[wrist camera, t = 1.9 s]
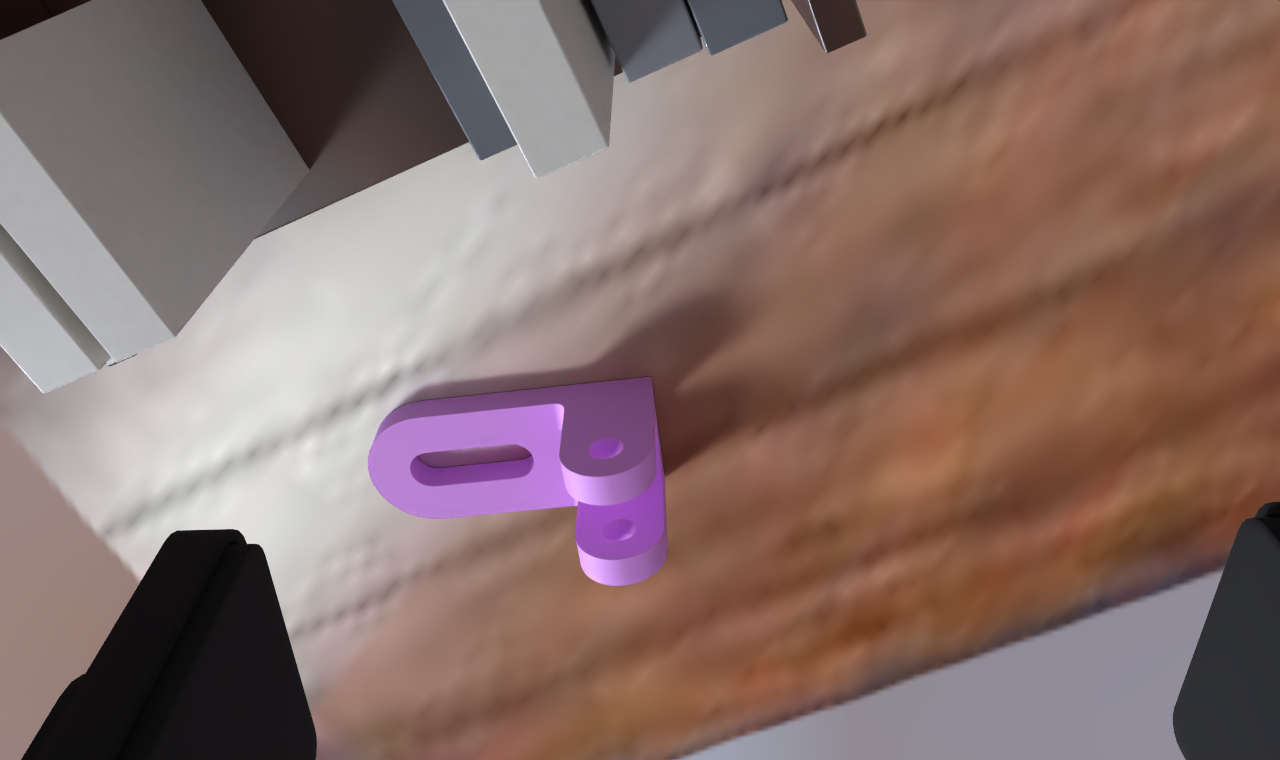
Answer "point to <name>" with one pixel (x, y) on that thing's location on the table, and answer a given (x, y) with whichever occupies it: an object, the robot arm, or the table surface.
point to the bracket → (541, 466)
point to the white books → (125, 180)
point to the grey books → (634, 24)
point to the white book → (543, 73)
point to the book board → (358, 84)
